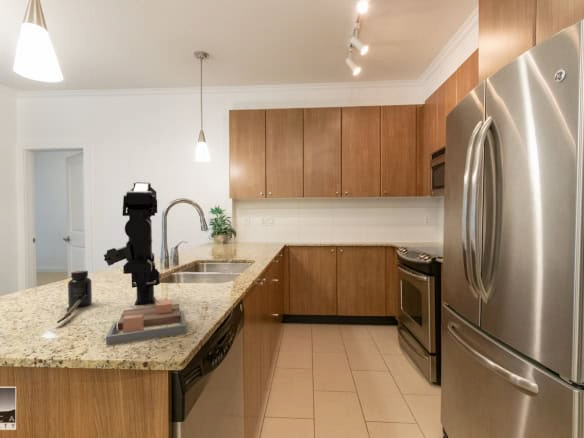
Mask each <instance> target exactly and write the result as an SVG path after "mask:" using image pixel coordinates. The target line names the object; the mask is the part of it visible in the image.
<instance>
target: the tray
mask: <svg viewBox="0 0 584 438" xmlns="http://www.w3.org/2000/svg"><path fill="white" fill-rule="evenodd" d="M180 323H181V324H179V325H172V326H166V327H160V328H159V327H157V328H152V329H151V328H150V329H145V330H143V331H136V332H129V333H123V332H122V333H117V331H118V322H116V321H115V322H113V323H112V324H111V326H110V328H109V330H108V332H107V334H106V336H105V344H106V346H107V345H108V346H110V345H116V344H122V343H123V344H124V343H128V342H133V341H134V342H135V341H142V340H150V339H156V338H162V337H169V336H177V335H183V334H186V333H187V324H186V318H185V313H180Z"/></svg>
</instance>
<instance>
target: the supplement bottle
mask: <svg viewBox="0 0 584 438" xmlns="http://www.w3.org/2000/svg"><path fill="white" fill-rule="evenodd" d="M88 276H89V272H88V270H76V271H72V272H71V276H70V278H71V279H70V280H68V282H67V293H68V294H67V299H68V300H67V301H68V302H67V303H68V307H69V306H70V305H72V304H73V303H75V302H76V301H78V300H79V299H81V298H82V297H84V296H85V295H87V297H86V298H84V299H82V300H81V302H80V304H79V305H78V306H77V307H76V309H77V308H83V307H87V306H90V305H92V304H93V297H92V296H93V291H92V288H93V287H92V280H91V278H89V277H88ZM71 308H72V307H70V309H71Z"/></svg>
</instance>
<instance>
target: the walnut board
mask: <svg viewBox="0 0 584 438" xmlns="http://www.w3.org/2000/svg"><path fill="white" fill-rule="evenodd" d="M180 309H181V308H180V303H176V304H172V312H168V313H160V314H156V306H150V307H149V306H148V307H142V308H139V307H138V308H134V309H133V308H132V309H123V310H122V311H123V312H122V313H121V316H120V318H119V320H118V322H117V331H120V330H123V318H124V317H125V316H128V315H138V314H144V327H150V326H158V325H159V326H160V325H166V324H172V323H173V324H174V323H181V311H180Z"/></svg>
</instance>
